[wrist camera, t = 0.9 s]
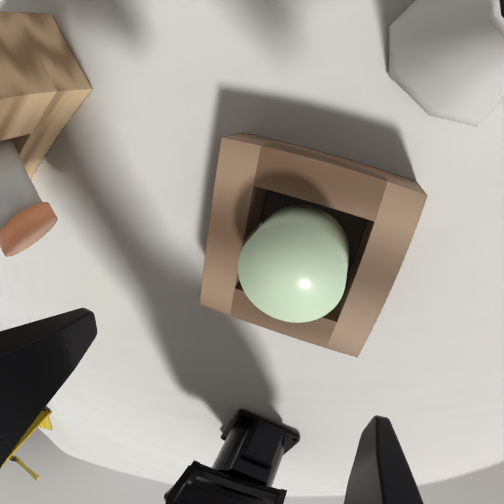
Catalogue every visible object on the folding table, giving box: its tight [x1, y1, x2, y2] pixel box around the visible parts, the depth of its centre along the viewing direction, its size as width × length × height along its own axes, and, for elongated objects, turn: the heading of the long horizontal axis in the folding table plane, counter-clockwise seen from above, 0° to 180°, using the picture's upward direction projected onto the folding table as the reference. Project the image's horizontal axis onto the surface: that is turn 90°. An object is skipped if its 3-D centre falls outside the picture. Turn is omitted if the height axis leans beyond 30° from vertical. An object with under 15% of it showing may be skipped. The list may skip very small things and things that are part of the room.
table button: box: [238, 205, 349, 323], centre depth 16 cm, size 5×5×3 cm
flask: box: [389, 0, 504, 127], centre depth 8 cm, size 7×7×10 cm
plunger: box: [0, 139, 57, 257], centre depth 18 cm, size 8×5×5 cm, turn 35°
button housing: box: [200, 133, 427, 357], centre depth 18 cm, size 10×10×3 cm
